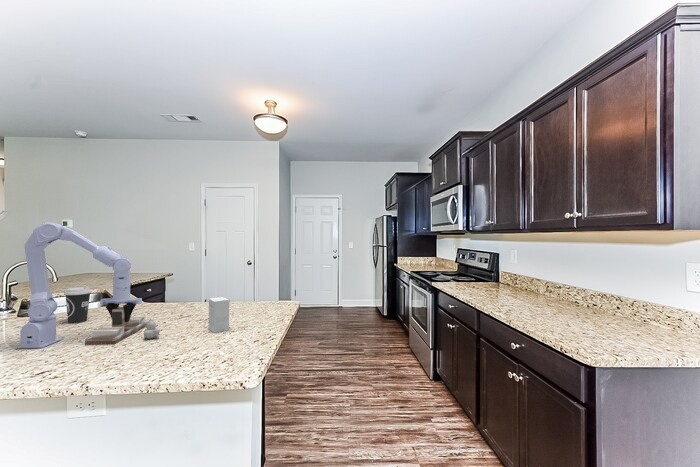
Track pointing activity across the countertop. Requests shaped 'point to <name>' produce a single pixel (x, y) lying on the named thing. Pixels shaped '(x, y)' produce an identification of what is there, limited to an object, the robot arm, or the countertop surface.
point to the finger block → (119, 318)
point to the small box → (218, 314)
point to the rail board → (116, 332)
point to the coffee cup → (77, 304)
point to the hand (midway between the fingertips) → (121, 321)
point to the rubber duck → (151, 330)
